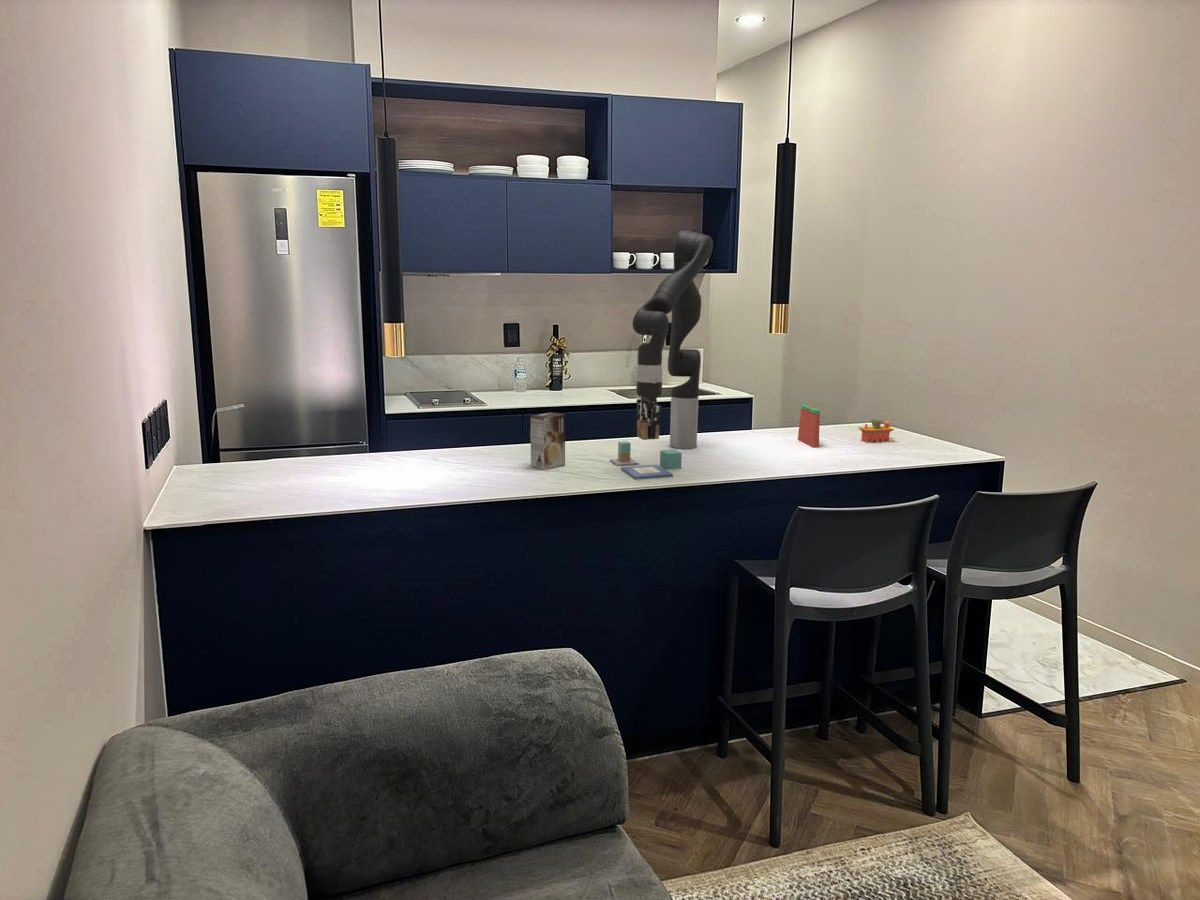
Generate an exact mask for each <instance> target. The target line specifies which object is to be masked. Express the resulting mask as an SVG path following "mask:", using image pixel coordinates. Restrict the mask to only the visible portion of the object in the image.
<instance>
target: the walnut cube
mask: <svg viewBox="0 0 1200 900" xmlns="http://www.w3.org/2000/svg"><path fill="white" fill-rule="evenodd" d="M650 420H651V418H650ZM636 438H638V439H641V440H642V441H649V440H659V439H660V424H659V425H657V426H656V435H655V438H651V439H650V438H648V420H640V419H637V421H636Z"/></svg>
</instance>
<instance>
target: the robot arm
mask: <svg viewBox="0 0 1200 900" xmlns="http://www.w3.org/2000/svg"><path fill="white" fill-rule="evenodd" d="M673 243H674V245H673V273H671V274H670V275H668V276H667V277H665V278H664V279H663V280H662V281H661V282H660V283H659V285H658V287H657V289H656V290H655V291H654V293H653V295H652V297H650V299H648V300H647V301H646V302H645V303H644V304H643V305H642V306H641V307H640V308H639V309H638V310H637V311H636V312H635V314H634V316H633V319H632V328H633V330H634V331H633V332H635V333H636V334H638V335H641V336H642V335H643V336H651V338H650V340H649V342H646V343H642V344H640V345H639V346H638V348H637V349H638V351H637V368H636V385H635V386H636V391H635V392H636V396H638V397H640V398H638V399H637V398H636V410H637V412H636V413H637V420H648V438H650V440H652V439H651V438H655V435H656V426H657V425H659V426H660V422H661V421H660V420H661V416H662V405H658V401H657V399H658V397H661V396H662V394H663V365H662V363H663V349H664V346H665V342H666V338H667V335H668V331H669V328H670V321H669V318H668V314H670V313H671V331H670V332H671V333H670V340H669V342H670V343H669V348H668V349H669V350H668V358H667V371H668V374H669V375H670V376H671V377H679V378H680V377H681V378H684V377H687V378H688V377H689V379H688V380H687V381H685V382H684V383H682V384H679V385H675V386H673V387H672V388H671V391H670V395H671V397H670V422H669V423H670V424H669V425H670V426H669V428H670V429H669V446H670V447H671V448H675V449H685V450H686V449H688V450H689V449H694V448H696V447H697V445H698V441H697V440H698V420H699V419H698V417H699V396H700V395H699V393H700V392H699V390H700V389H699V387H700V376H701V375H700V374H701V373H700V372H701V364H702V363H701V361H702V360H701V359H702V355H701V352H700V350H698V349H695V348H693V349H692V348H681V347H682V345H683V342H684V340H685V339H686V337H688V335H689V334H690V333H691V331H692V330H693V329H695V327H696V326H697V324H698V323H699V321H700V318H701V314H702V313H701V309H702V296H701V293H700V291H699V289H698V287H697V285H696V283H695V282H694V279H695V278H696V277H697V275H699V273H700V272H701V271H702V269H704V267H705V266H706V264H707V263H708V261H709V260H710V259H711V255H712V253H713V249H714V248H713V247H714V242H713V238H712V237H711V236H710V235H707V234H704V233H700V232H694V231H691V230H680V231H678V233H677V234H676V236H675V240H674V242H673ZM650 419H651V420H650Z"/></svg>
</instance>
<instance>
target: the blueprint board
mask: <svg viewBox="0 0 1200 900" xmlns="http://www.w3.org/2000/svg"><path fill="white" fill-rule="evenodd" d="M620 470H621V471H622V472H624V473H625V474H626V475H628V476H630V477H631V478H633V479H634V480H645V479H657V478H670V477H674V473H673V472H671V471H669V470H668V469H667V470H666V469H664V468H663V467H661V466H660V464H648V465H646V464H645V465H629V466H620Z"/></svg>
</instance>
